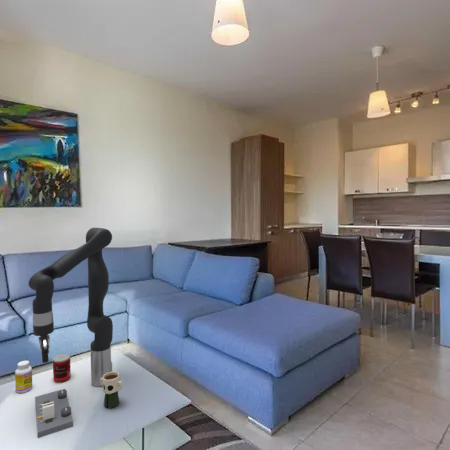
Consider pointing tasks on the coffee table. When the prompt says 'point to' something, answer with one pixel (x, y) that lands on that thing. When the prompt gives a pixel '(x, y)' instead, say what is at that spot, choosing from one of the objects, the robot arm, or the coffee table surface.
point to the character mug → (111, 388)
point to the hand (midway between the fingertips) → (45, 361)
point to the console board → (60, 412)
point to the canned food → (61, 368)
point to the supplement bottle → (23, 377)
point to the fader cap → (48, 410)
